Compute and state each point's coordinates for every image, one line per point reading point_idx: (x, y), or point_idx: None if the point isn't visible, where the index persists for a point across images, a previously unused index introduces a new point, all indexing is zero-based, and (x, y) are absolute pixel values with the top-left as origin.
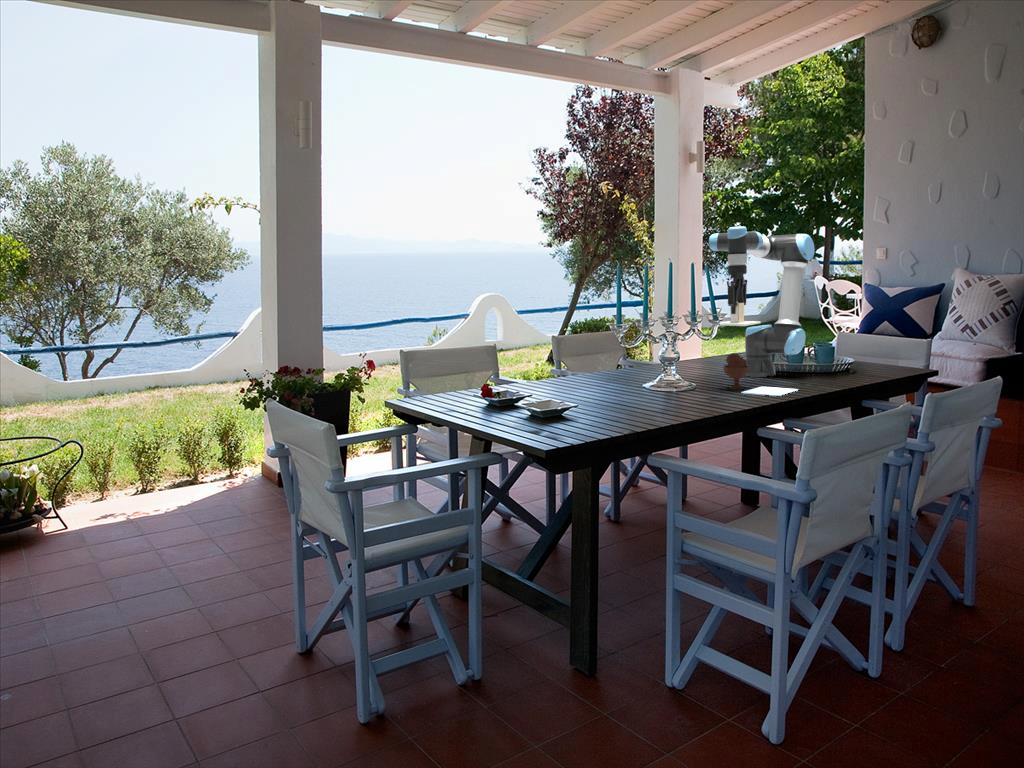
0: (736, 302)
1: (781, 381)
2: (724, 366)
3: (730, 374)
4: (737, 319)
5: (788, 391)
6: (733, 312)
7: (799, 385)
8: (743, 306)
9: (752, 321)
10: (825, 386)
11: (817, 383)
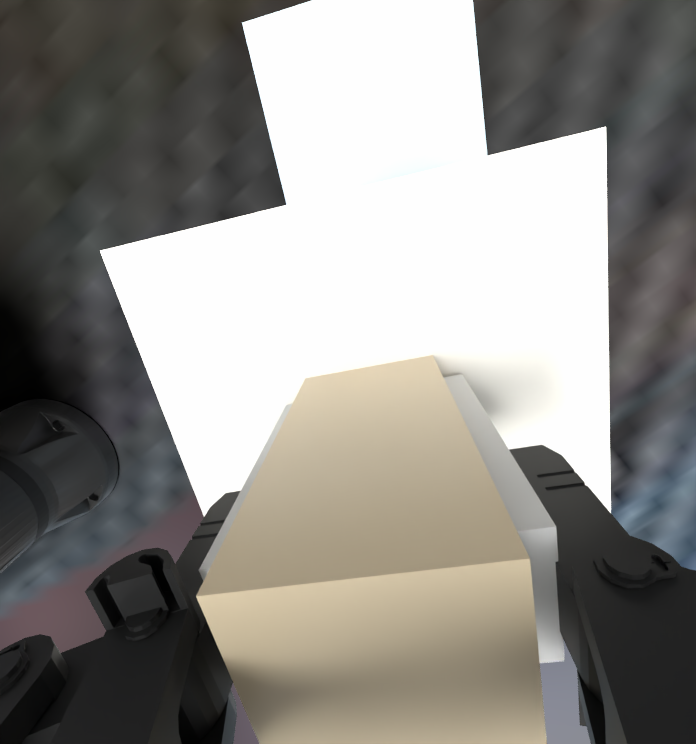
0: (634, 642)
1: (98, 289)
2: None
3: None
4: (454, 389)
5: (333, 10)
6: (564, 474)
7: (120, 148)
8: (263, 510)
9: (179, 336)
10: (47, 25)
11: (15, 126)
